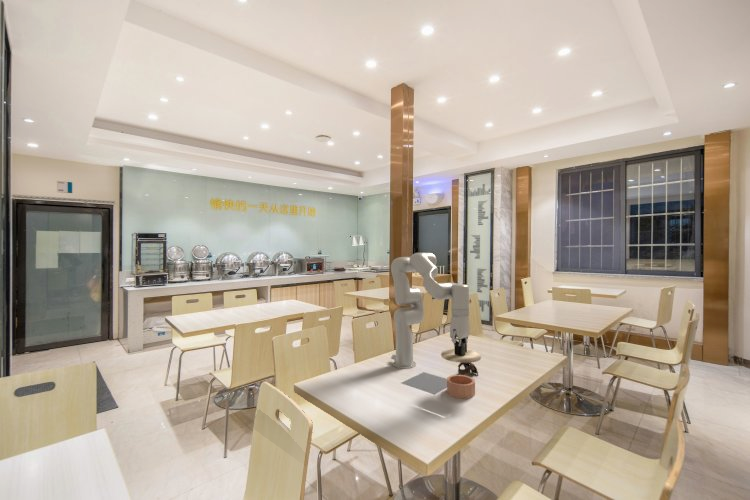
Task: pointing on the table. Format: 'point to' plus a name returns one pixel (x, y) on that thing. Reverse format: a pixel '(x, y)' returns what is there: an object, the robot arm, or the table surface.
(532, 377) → the table surface
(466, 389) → the bowl
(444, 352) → the lid
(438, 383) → the mat
